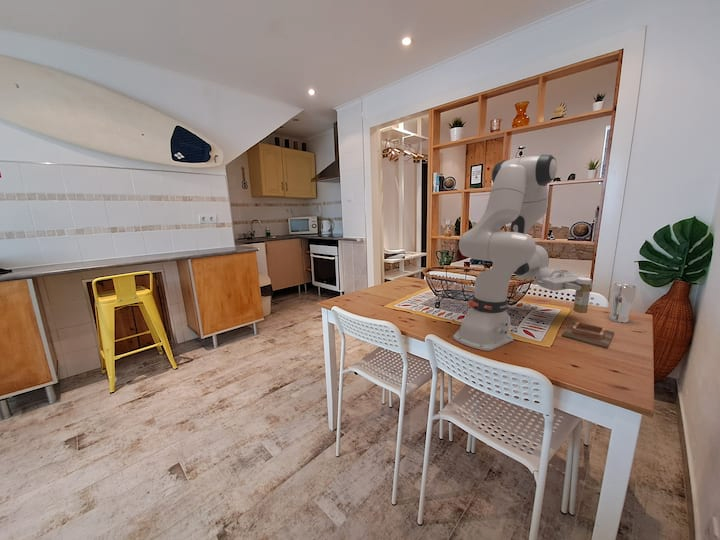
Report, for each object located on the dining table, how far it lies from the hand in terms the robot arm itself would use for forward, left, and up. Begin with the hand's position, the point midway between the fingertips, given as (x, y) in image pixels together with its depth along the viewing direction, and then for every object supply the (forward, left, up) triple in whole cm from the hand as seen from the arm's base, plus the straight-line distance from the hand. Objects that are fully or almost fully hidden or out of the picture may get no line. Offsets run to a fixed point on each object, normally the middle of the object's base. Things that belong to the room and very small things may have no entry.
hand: (586, 287), depth 108 cm
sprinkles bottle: (0, +1, -10) cm, 10 cm away
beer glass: (+20, -10, -17) cm, 28 cm away
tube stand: (-6, -4, -17) cm, 18 cm away
